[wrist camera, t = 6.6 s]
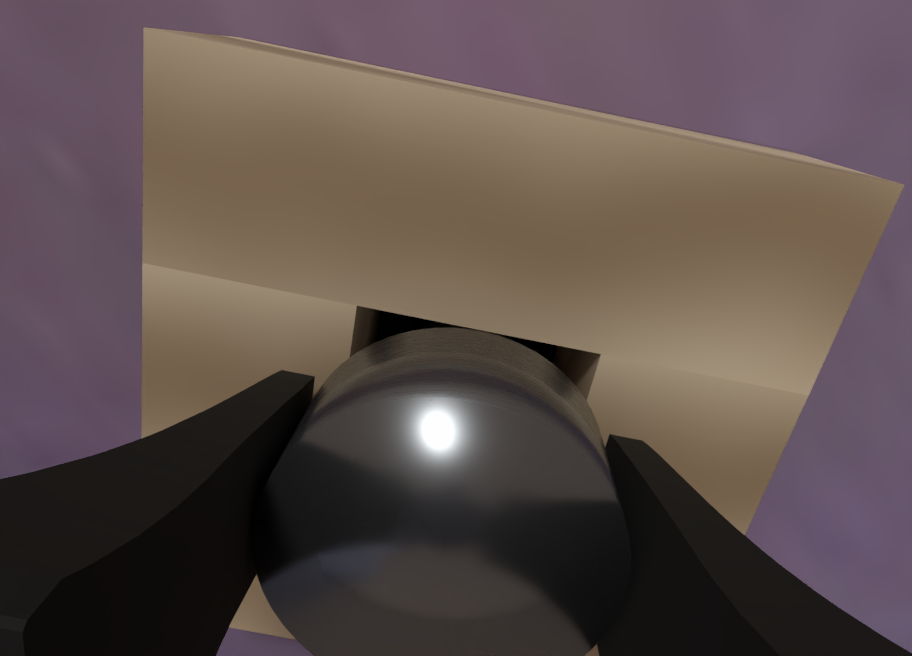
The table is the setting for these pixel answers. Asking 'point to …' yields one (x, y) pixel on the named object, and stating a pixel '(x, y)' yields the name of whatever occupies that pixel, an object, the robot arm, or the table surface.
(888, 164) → the table surface
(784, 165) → the wooden block
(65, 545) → the robot arm
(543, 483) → the steel pin
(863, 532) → the table surface
